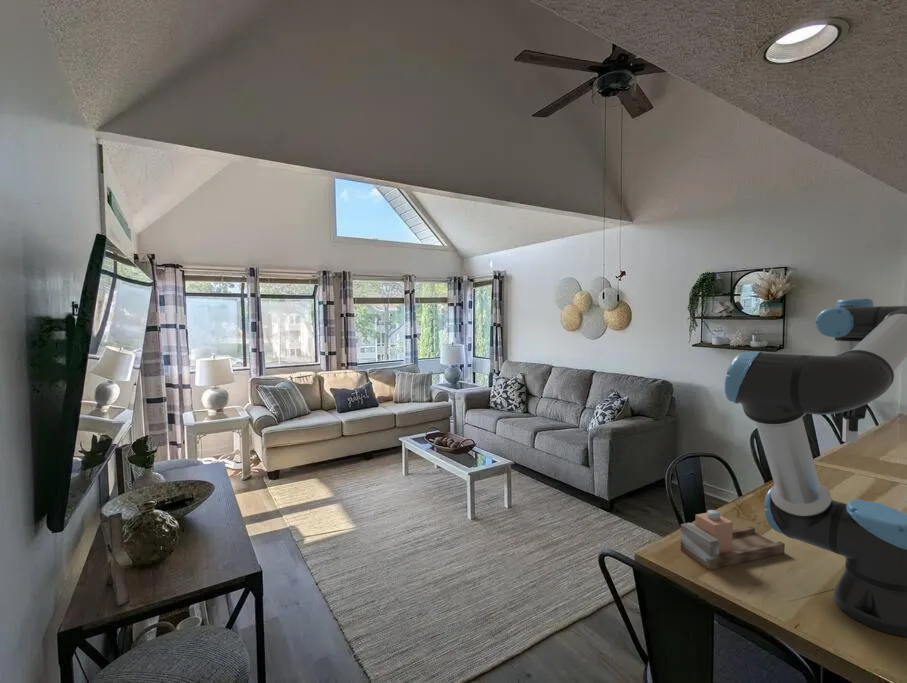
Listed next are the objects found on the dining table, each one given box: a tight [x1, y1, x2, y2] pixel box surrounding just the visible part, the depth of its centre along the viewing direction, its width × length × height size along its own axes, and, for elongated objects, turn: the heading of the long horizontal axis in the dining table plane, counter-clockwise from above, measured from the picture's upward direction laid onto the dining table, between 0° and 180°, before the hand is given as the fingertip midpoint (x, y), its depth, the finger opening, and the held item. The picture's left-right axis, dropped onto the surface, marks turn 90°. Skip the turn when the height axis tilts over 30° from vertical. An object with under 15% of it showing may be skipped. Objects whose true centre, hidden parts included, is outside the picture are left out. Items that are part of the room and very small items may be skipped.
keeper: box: [694, 509, 734, 554], centre depth 120 cm, size 6×6×11 cm
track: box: [680, 522, 786, 570], centre depth 122 cm, size 25×10×8 cm, turn 105°
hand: (849, 441), depth 120 cm, fingers closed
